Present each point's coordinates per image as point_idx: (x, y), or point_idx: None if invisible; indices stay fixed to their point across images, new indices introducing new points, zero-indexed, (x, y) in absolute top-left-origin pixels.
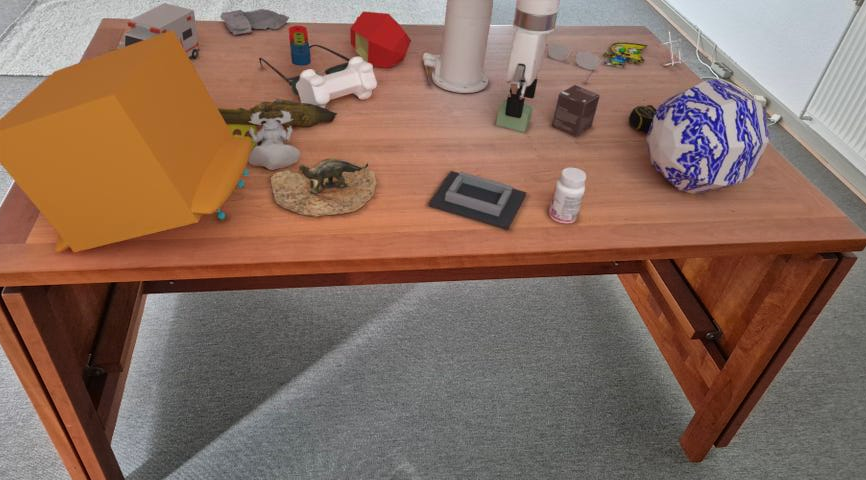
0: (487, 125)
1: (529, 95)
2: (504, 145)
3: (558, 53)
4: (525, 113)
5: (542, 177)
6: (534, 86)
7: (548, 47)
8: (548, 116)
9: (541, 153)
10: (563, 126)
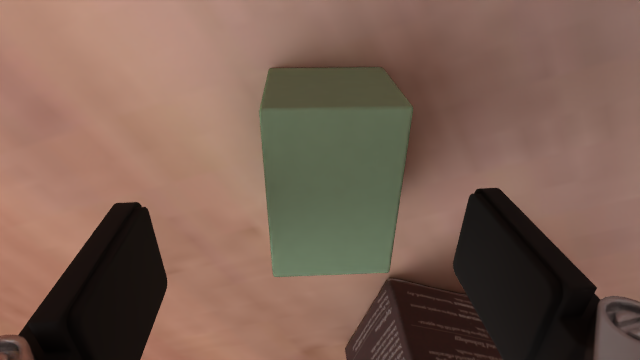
0: (235, 22)
1: (463, 261)
2: (100, 168)
3: None
4: (273, 265)
5: (8, 329)
6: (491, 336)
7: None
8: None
9: None
10: (368, 327)
